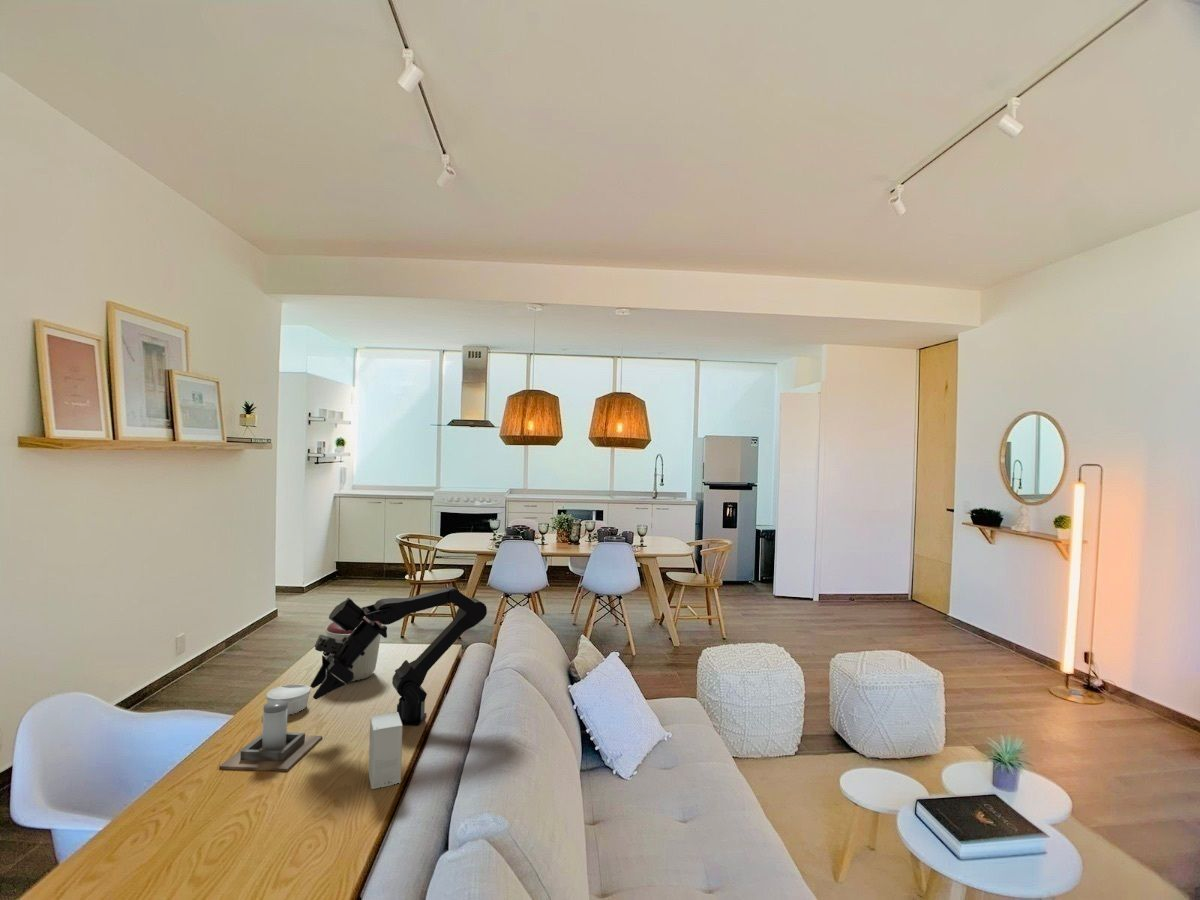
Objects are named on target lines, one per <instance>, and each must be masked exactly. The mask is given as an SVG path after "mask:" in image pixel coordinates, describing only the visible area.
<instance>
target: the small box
mask: <svg viewBox="0 0 1200 900" xmlns="http://www.w3.org/2000/svg"><path fill="white" fill-rule="evenodd" d="M369 723H370V724H369V726H370V727H369V745H368V746H369V750H368V770H367V772H368V779H369V783H370V789H371V790H375V789H381V788H384V787H390V786H394V784H395V785H398V784H397V783H399V784H401V783H402V755H403V754H402V753H403V729H404V728H403V727H404V725H402V722H401V719H400V716H399V713H398V712H397V711H395V712H388V713H382V714H374V715H370V722H369ZM380 787H381V788H380Z"/></svg>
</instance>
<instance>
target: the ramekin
mask: <svg viewBox="0 0 1200 900" xmlns="http://www.w3.org/2000/svg"><path fill="white" fill-rule="evenodd" d="M311 688H312V687H311V686H309V685H306V684H300V683H299V684H298V683H295V684H294V683H293V684H284V685H281V686H280V685H279V686H277V687H274V688H272V689H270V690H269V691H268V692H267V693H266V695H265V699H266V701H267V702H266V703H269V702H272V701H277V700H284V701H287V702H288V711H287V716H290V715H289V714H292V715H295V714H294V713H296V714H298V713H300V712H299V711H301V710H302V711H303V709H304V710H305V709H306V707H307V706H308V701H309V698H310V694H311V691H312V689H311ZM302 711H301V712H302ZM297 712H298V713H297Z"/></svg>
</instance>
